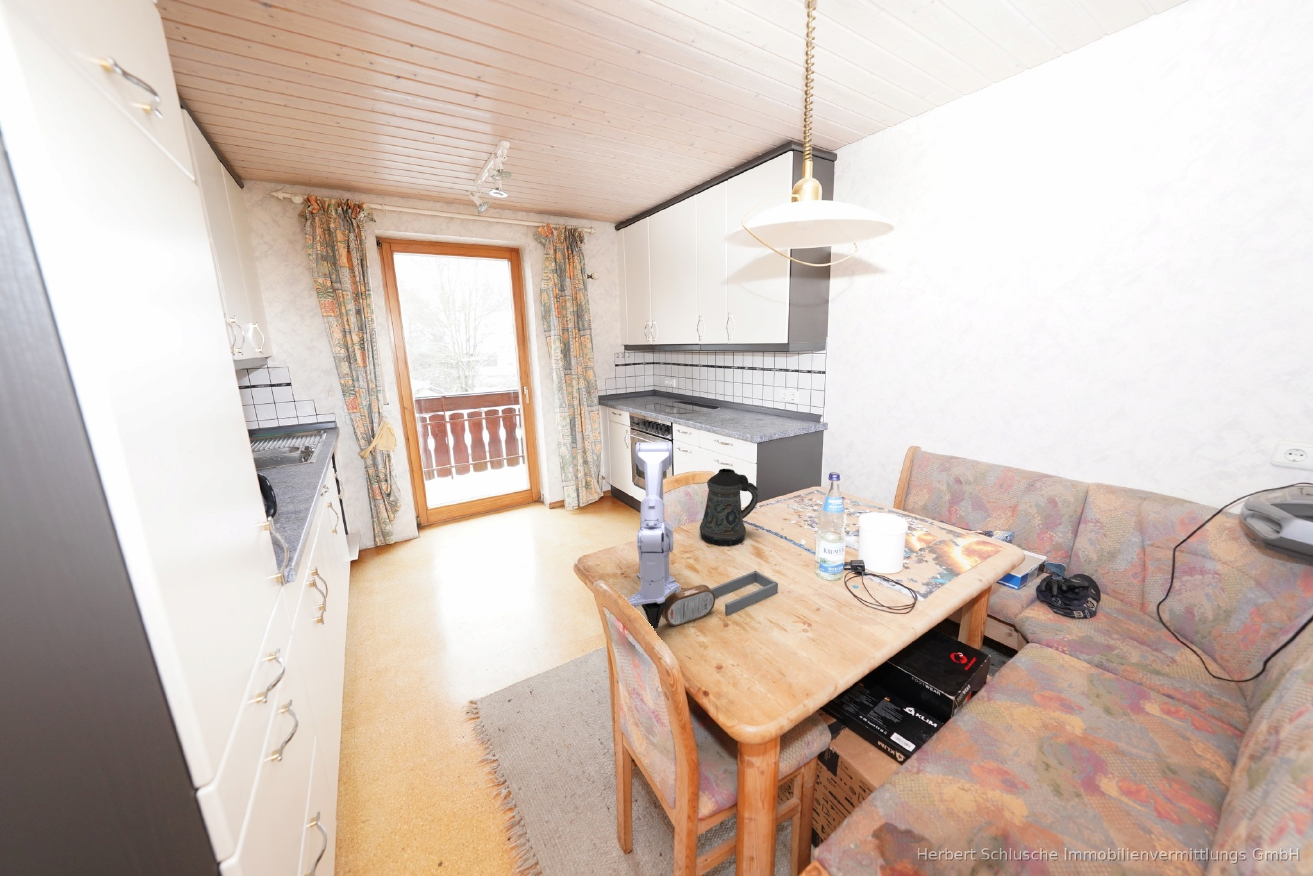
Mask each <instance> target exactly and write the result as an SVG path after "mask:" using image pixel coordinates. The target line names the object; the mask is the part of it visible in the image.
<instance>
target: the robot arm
mask: <svg viewBox="0 0 1313 876" xmlns="http://www.w3.org/2000/svg"><path fill="white" fill-rule="evenodd" d="M634 451H635V452H634V457H635V458H634V459H635V464H636V465H637V467H638V469H639V471H641V472H644V484H645V498H643V499H642V501H641V502H640V512H639V513H640V515H639V518H640V519H639V520H640V521H639V529H637V535H636V537H637V539H636V547H637V551H638V564H639V567H638V568H639V573H636V576H637V577H638V578H639V579H640V590H639V591H638V592H636V593H634V594H633V595H631V596H630V597H628V598H626V599H627V600H628V601H629V603H631V605H632V606H634V608H637V607H640V606H641V608H642V609H643V611H644V613H645V616H646V620H647V623H648V622H649V623H650V624H651V626H653V628H654V630H656V629H658V628H659V624H660V621H661V617H662V613H663V611H664V609H665V607H666V606H667V601H666V600H665V599H666V598H667V597H668V596H669V595H670V594H672V593H674V592H675V593H678V592H680V590H681V586H680V584H679V583H677V582H676V578H674V577H673V576H672V575H671V574H670V553H672V552H673V551H674V529H673V524H671V523H670V522H668V521H666V520H665V502H664V488H663V487H664V472H666V471H667V470H669V469H670V467H672V465H673V443H672V442H671V441H666V442H663V441H662V442H661V441H658V442H657V441H656V442H640V441H637V442H636V443H635V449H634ZM649 623H648V624H649Z"/></svg>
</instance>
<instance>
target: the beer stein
mask: <svg viewBox="0 0 1313 876" xmlns="http://www.w3.org/2000/svg"><path fill="white" fill-rule="evenodd" d="M706 485H707V488H708V490H707V491H708V492H707V496H706V497H707V499H706V503H705V508H704V509H705V510H704V514H703V518H702V520H701V523H700V524H699V532H700V533H699V534H700V538H701V540H702V541H703V542H705V543H707V544H709V545H713V546H716V547H732V546H738V545H740V544H742V543H743V542H744V540H745V536H746V532H747V529H746V528H747V527H746V526H745V523H744V519H745V518H746V517H747V516H749V515H750V513H752V511H754V510H755V508H756V506H757V504H758V501H759V497H760V495H759V490H758V489H759V488H758V487H757V485H755V484H754V483H752V482H749V479H748V477H747V476H746V475H745V474H738V473H737V472H736V471H735V470H734V469H732V468H721V469H719V470H718V472H717V473H715V474H714V475H713V476H711V477H710V478H709V479H708V480H707V481H706ZM741 492H749V493H750V494H751V500H750V502H748V505H746V506H745V507H744V508H743V509H742V499H741Z"/></svg>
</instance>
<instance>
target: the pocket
mask: <svg viewBox="0 0 1313 876" xmlns="http://www.w3.org/2000/svg"><path fill="white" fill-rule="evenodd" d="M753 583H756V584H759V585H760V586H762V587H761V588H758V589H756V590H754V591H752V592H748V593H747V594H744V595H743V596H740V597H737V598H735V599H734V600H733V599H732V600H730V601H729V602H727V603H724V615H725V616H730V615H732V614H734V613H735V612H738V611H741V610H742V609H746V608H747V607H749V606H752V605H753V604H757V603H758V602H761V601H763V600H765V599H767V598H769V597H771V596H774V595H776V594H778V591H779V583H778V582H777V581H775V580H773V579H771V578H769V577H768V576H766V575H764V574H763V573H761V572H759V571H757V570H754V571H752V572H749V573H746V574H744V575H742V576H739V577H736V578H733V579H731V580H729V581H726V582H723V583H720V584H719V585H716V586H714V587H711V588H710V589H711V590H712V591H713V593H714V594H715V599H718V598H720V597H722V596H725V595H727V594H729V593H732V592H734V591H737V590H739V589H741V588H743V587H744V588H745V587H747V586H749V585H751V584H753Z"/></svg>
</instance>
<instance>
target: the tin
mask: <svg viewBox="0 0 1313 876" xmlns="http://www.w3.org/2000/svg"><path fill="white" fill-rule="evenodd" d="M665 600H666V601H667V606H666V607H665V609H664V611H663V613H662V615H661V617H662V618H663V619H664V620H665V621H666V622H667V624H668V625H671V626H672V627H673V626H674V627H675V626H682V625H684V624H686V623H690V622H693V621H696V620H698V619H699V620H700V619H702V618H704V617H706V616H708V615H709V614H710V613H711V612H712V611H713V609H714V607H715V604H716V598H715V594H714V593H713V591H712V590H711V588H710V587H709V585H706V584H698V585H693V586H691V587H687V588H684V589H682V590H681V589H680V592H678V593H675V592H674V593H671V594H669V595H668V596H667V597H665Z"/></svg>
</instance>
